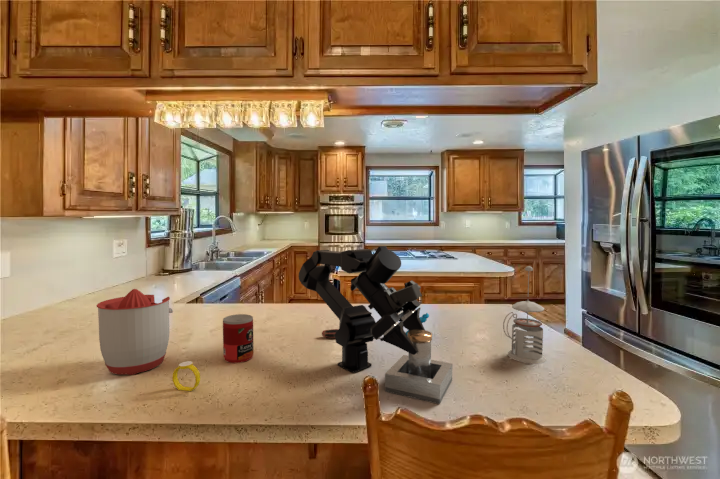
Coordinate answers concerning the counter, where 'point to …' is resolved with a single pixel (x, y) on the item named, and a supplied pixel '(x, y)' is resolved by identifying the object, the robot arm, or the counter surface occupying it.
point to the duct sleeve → (420, 353)
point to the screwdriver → (329, 333)
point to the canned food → (238, 338)
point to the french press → (526, 333)
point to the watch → (185, 366)
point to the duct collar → (419, 381)
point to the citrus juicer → (133, 332)
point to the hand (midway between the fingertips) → (421, 346)
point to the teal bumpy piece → (421, 320)
